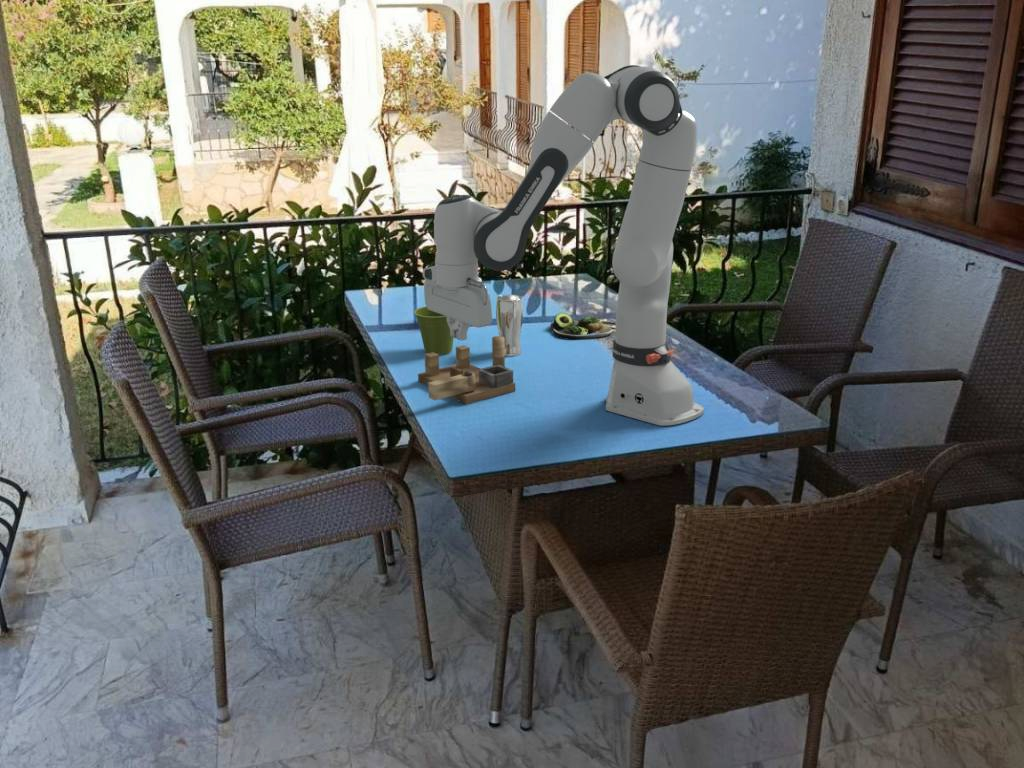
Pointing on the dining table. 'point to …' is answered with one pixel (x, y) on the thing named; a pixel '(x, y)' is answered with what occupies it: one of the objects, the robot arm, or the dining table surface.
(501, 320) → the beer glass
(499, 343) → the oak leg peg
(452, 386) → the hinged leg
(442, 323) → the plant pot
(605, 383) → the dining table surface
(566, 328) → the salad plate
